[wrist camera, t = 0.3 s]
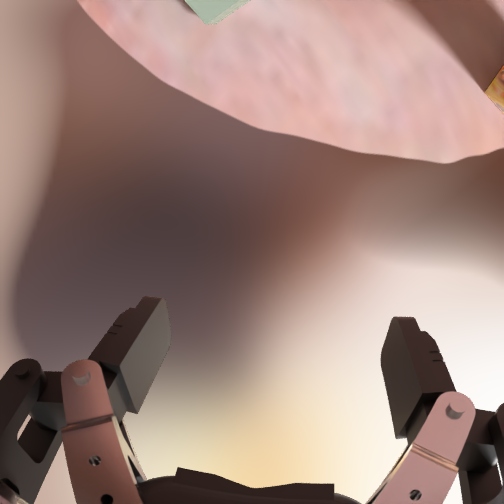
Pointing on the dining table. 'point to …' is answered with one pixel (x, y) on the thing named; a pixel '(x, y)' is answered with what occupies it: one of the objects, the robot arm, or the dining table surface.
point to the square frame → (214, 9)
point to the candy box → (497, 90)
